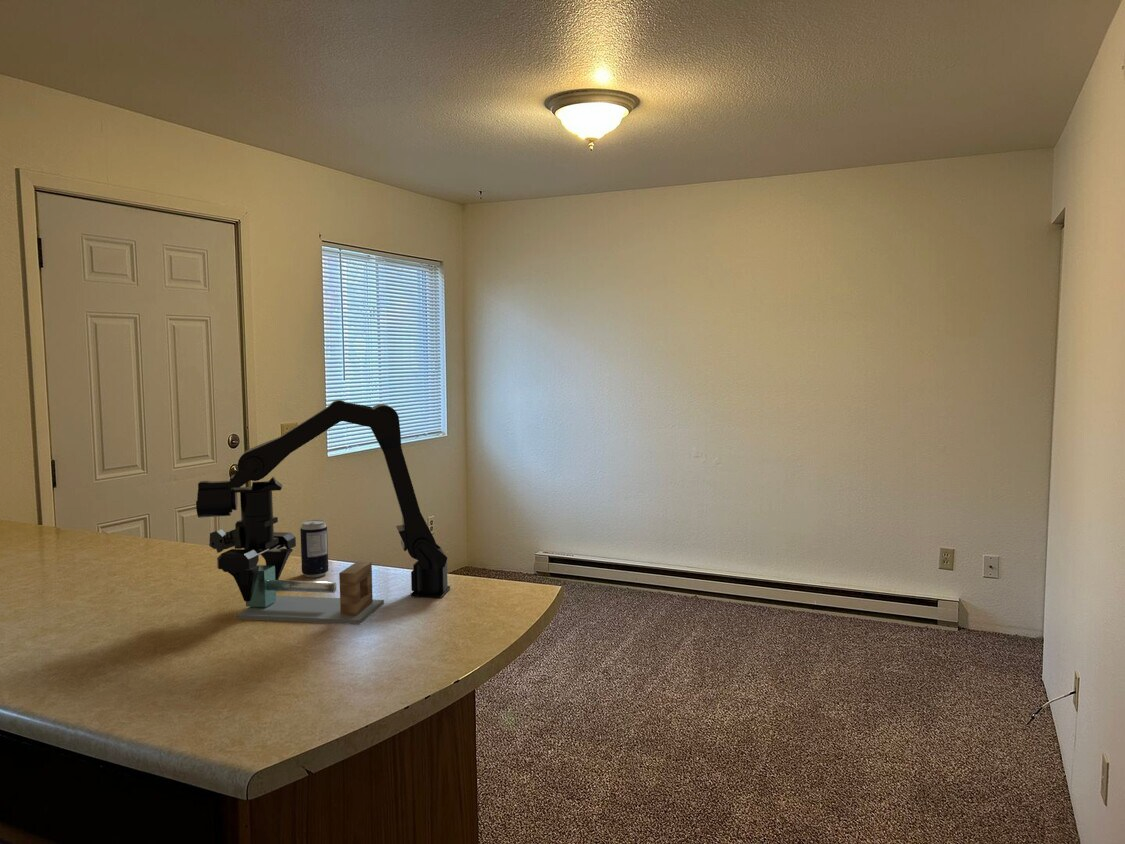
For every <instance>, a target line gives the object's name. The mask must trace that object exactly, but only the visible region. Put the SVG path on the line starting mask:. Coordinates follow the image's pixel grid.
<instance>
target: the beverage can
mask: <svg viewBox="0 0 1125 844" xmlns="http://www.w3.org/2000/svg"><path fill="white" fill-rule="evenodd" d="M299 529H300V531H299V532H300V533H299V534H300V552H301V553H300V554H301V555H300V557H301V558H300V559H301V573H302V574H303V575H304V576H305V577H306V578H313V579H314V578H319V577H320V578H321V577H323V576H325V575H326V573H327V572H328V571H329V551H328V550H329V549H328V548H329V546H328V545H329V544H328V525H327V524H326V521H325V520H323V519H311V520H305V521H302V522H301V526H300V528H299Z"/></svg>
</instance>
